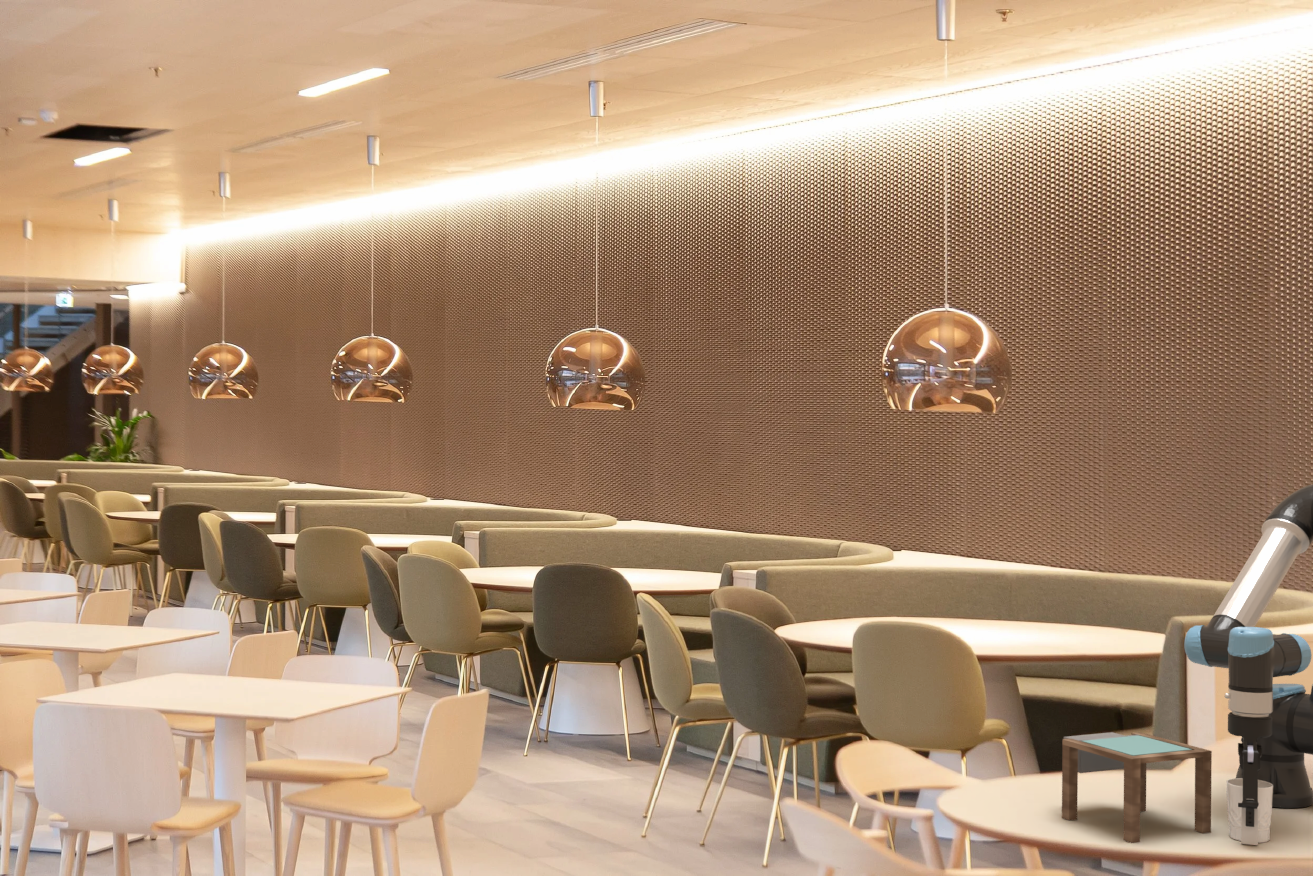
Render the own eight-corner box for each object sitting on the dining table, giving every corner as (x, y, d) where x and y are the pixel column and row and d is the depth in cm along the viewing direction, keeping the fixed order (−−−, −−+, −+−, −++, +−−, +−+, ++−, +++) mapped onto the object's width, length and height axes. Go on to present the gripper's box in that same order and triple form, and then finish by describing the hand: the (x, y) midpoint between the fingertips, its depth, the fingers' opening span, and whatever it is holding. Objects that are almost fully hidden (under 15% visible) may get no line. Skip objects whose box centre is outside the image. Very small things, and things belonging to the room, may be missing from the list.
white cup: (1251, 846, 262) (1252, 790, 262) (1216, 835, 269) (1216, 780, 269) (1282, 841, 265) (1282, 785, 265) (1246, 830, 272) (1247, 776, 272)
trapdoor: (1116, 762, 290) (1116, 729, 290) (1191, 784, 272) (1191, 748, 272) (1059, 768, 285) (1059, 734, 285) (1132, 791, 266) (1132, 754, 266)
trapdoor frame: (1138, 808, 288) (1139, 732, 288) (1210, 832, 271) (1211, 750, 271) (1061, 818, 280) (1062, 739, 280) (1131, 843, 263) (1131, 759, 263)
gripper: (1227, 702, 279) (1226, 820, 279) (1228, 722, 258) (1227, 850, 258) (1270, 704, 276) (1269, 824, 276) (1274, 725, 256) (1273, 854, 255)
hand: (1248, 837), depth 267 cm, fingers open, 9 cm apart
